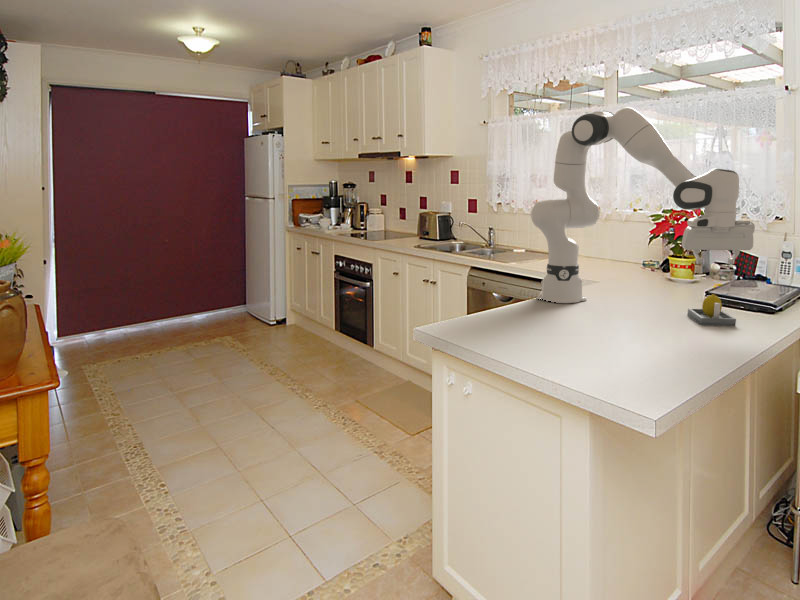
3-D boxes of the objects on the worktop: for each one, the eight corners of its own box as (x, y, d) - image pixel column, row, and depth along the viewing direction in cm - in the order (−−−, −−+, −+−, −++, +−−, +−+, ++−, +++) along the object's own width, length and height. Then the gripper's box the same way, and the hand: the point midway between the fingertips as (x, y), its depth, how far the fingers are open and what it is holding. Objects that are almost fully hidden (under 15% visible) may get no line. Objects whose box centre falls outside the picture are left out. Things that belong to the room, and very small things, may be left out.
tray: (687, 315, 189) (689, 295, 188) (719, 316, 188) (721, 296, 186) (700, 325, 176) (702, 304, 175) (735, 326, 174) (737, 305, 173)
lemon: (703, 319, 180) (706, 295, 178) (699, 315, 185) (701, 292, 183) (722, 320, 178) (725, 296, 176) (717, 316, 183) (720, 292, 181)
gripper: (751, 219, 176) (746, 262, 179) (682, 220, 180) (678, 262, 183) (759, 221, 170) (754, 265, 173) (688, 221, 174) (684, 264, 177)
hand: (714, 263), depth 178 cm, fingers open, 8 cm apart
